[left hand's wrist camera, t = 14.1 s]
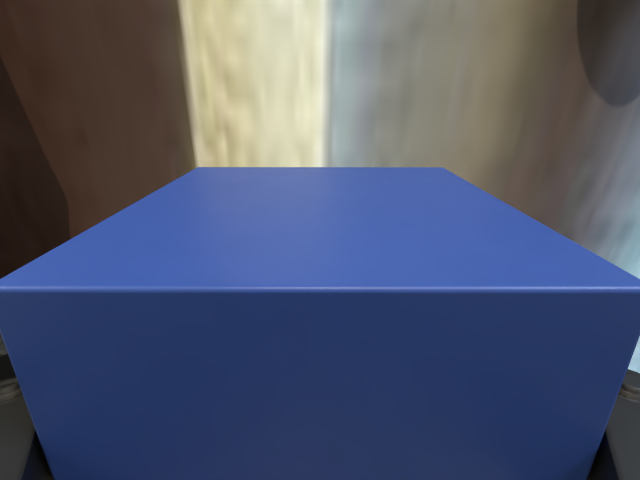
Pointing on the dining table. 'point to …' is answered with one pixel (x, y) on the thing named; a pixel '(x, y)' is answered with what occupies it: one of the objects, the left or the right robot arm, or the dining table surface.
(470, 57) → the dining table surface
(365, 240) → the box
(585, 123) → the dining table surface
